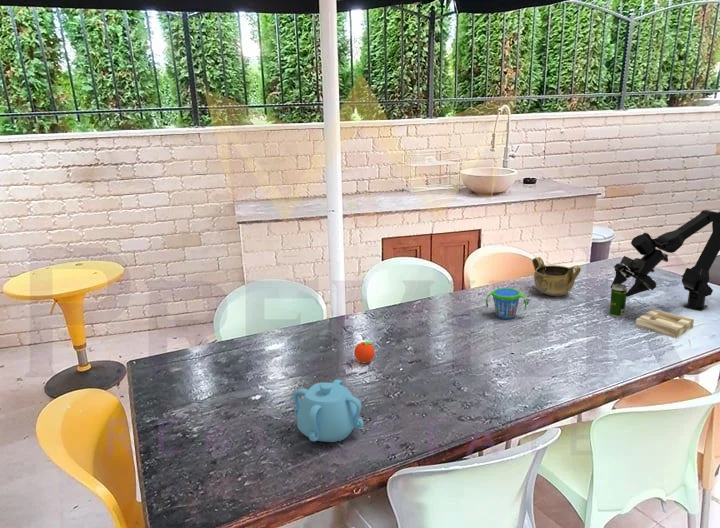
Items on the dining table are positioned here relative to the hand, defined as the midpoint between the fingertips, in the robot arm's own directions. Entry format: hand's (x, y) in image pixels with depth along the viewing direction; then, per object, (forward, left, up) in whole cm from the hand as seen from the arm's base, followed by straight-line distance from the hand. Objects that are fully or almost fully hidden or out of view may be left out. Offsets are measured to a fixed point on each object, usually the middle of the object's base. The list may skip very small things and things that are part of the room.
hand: (618, 292), depth 200 cm
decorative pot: (+128, -13, -10) cm, 129 cm away
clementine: (+96, -37, -10) cm, 103 cm away
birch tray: (-1, +17, -10) cm, 20 cm away
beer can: (0, 0, -10) cm, 10 cm away
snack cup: (+31, -29, -10) cm, 43 cm away
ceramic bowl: (-4, -30, -10) cm, 32 cm away
